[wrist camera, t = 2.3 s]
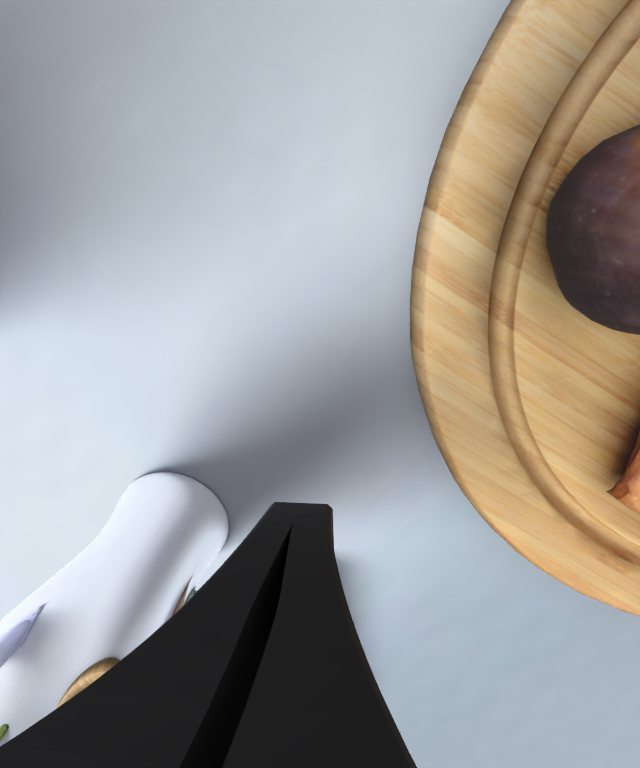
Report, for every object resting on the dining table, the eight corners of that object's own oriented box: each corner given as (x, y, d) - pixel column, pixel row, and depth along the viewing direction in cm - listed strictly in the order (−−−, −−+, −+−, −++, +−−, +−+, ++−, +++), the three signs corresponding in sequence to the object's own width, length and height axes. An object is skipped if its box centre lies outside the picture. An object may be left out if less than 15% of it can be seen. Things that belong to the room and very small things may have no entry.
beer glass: (92, 514, 25) (-267, 909, 11) (158, 438, 22) (-198, 826, 8) (190, 585, 26) (-21, 1021, 12) (263, 520, 23) (102, 976, 10)
